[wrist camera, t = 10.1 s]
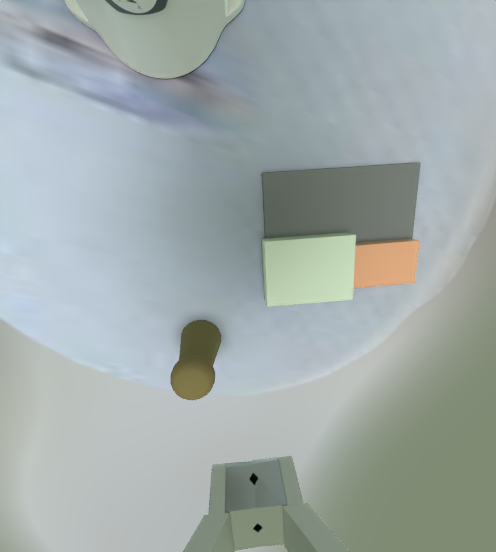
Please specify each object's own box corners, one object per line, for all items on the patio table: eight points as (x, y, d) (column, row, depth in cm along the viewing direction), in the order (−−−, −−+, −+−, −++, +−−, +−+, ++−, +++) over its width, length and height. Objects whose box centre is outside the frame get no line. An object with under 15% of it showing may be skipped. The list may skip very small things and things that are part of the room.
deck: (261, 238, 37) (264, 241, 34) (346, 232, 37) (355, 234, 34) (264, 299, 39) (267, 306, 36) (343, 292, 40) (352, 299, 37)
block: (347, 243, 37) (354, 245, 35) (409, 238, 38) (419, 240, 36) (346, 283, 39) (352, 288, 37) (405, 278, 39) (414, 282, 37)
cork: (228, 331, 40) (228, 378, 30) (208, 361, 41) (201, 416, 31) (193, 313, 39) (180, 354, 28) (174, 344, 40) (153, 395, 30)
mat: (262, 173, 34) (262, 172, 34) (418, 162, 35) (420, 162, 35) (267, 289, 39) (267, 290, 38) (406, 277, 40) (407, 278, 39)
